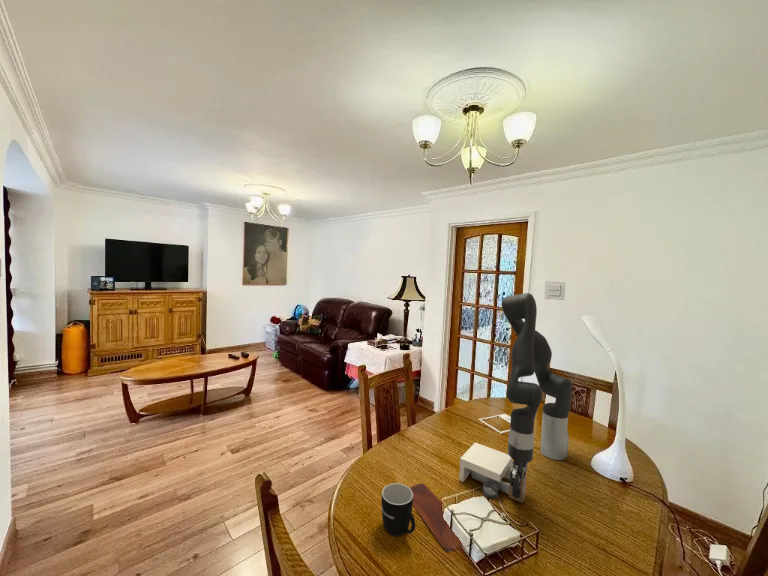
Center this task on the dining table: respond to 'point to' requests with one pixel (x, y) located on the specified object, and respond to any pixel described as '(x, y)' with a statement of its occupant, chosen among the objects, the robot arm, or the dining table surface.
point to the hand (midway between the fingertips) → (517, 493)
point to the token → (490, 489)
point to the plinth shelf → (485, 463)
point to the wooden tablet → (434, 516)
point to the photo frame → (502, 418)
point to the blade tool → (503, 485)
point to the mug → (397, 509)
